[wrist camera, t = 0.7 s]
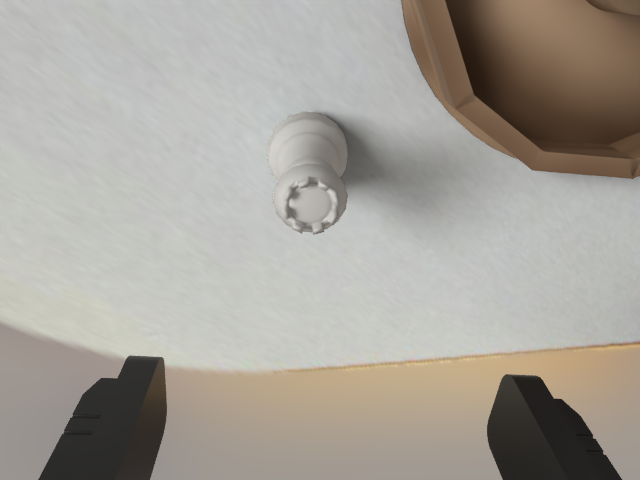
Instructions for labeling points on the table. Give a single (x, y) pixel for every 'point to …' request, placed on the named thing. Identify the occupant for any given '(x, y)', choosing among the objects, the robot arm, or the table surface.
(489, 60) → the ring tray
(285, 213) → the rook chess piece
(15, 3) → the table surface
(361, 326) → the table surface
